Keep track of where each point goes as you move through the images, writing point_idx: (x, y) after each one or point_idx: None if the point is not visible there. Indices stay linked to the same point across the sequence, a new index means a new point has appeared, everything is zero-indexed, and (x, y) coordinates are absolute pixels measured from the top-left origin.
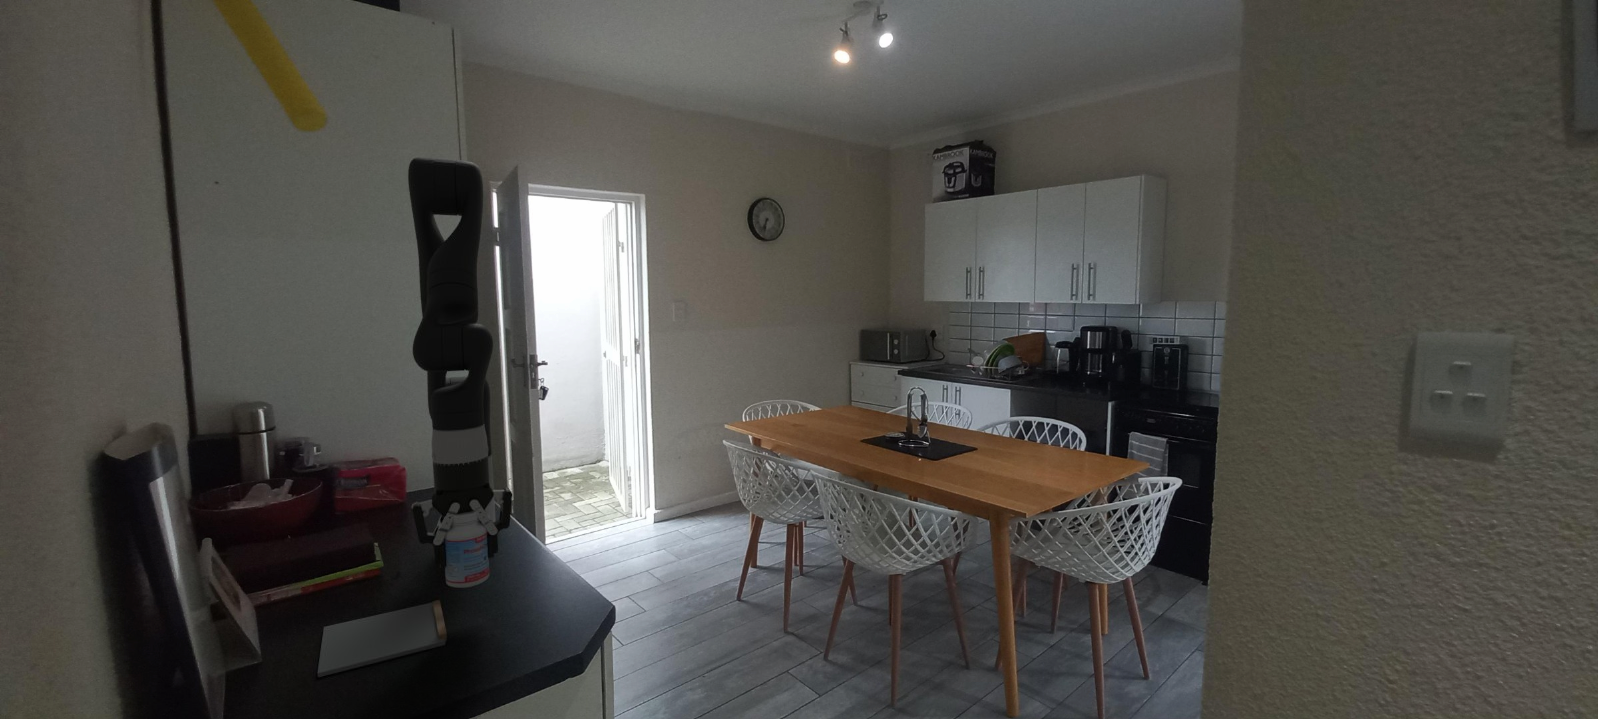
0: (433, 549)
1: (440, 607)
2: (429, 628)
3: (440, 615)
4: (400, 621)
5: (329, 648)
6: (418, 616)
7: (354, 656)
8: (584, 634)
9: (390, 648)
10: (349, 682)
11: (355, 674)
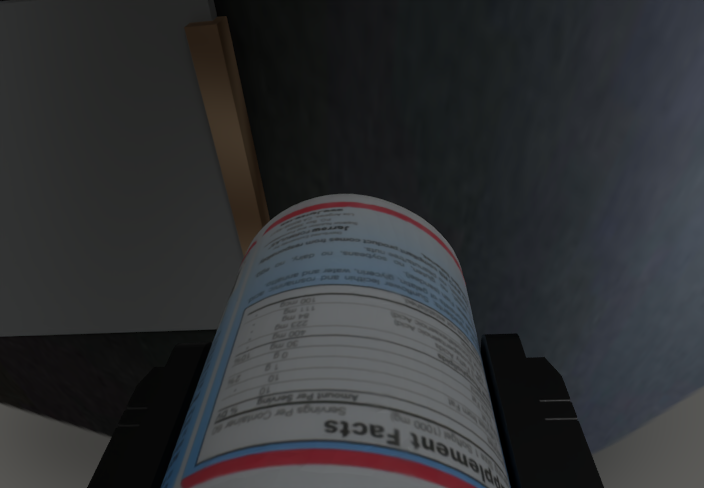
0: (106, 455)
1: (234, 117)
2: (220, 234)
3: (246, 193)
4: (89, 130)
5: None
6: (152, 118)
7: (34, 301)
8: (643, 413)
9: (126, 300)
10: (79, 373)
11: (77, 349)
